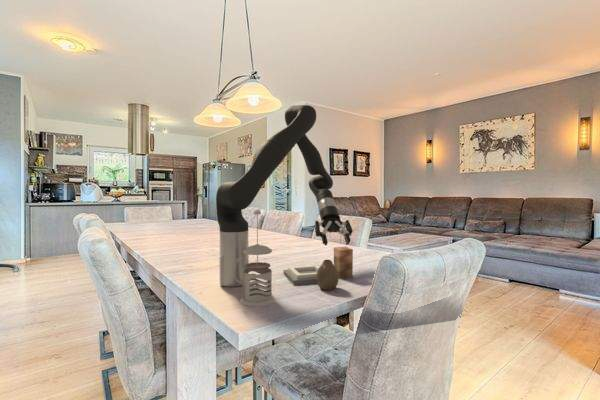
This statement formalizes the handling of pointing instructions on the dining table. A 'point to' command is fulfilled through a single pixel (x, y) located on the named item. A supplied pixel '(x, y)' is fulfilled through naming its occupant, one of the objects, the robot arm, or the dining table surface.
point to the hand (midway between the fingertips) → (337, 243)
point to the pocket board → (302, 274)
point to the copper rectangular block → (343, 262)
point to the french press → (256, 276)
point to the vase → (327, 275)
